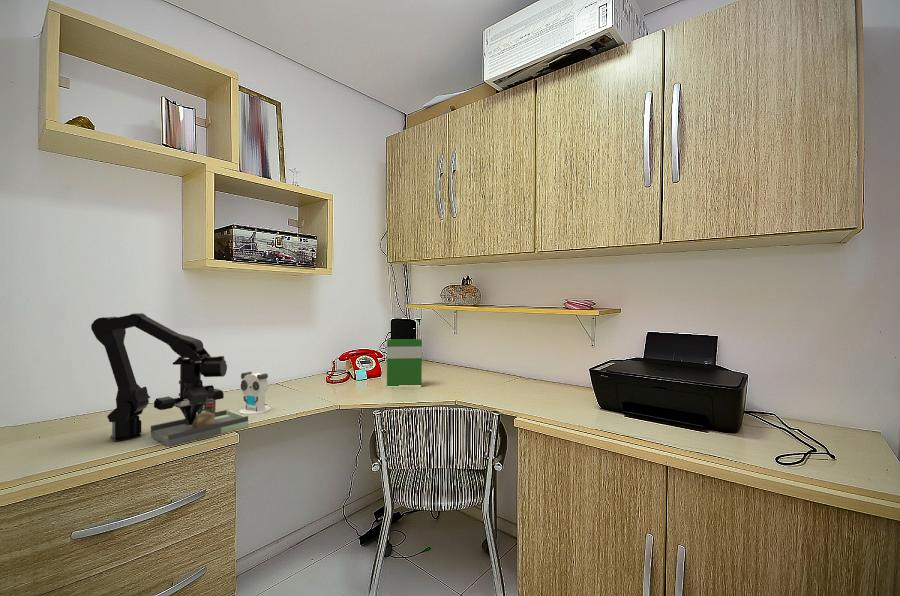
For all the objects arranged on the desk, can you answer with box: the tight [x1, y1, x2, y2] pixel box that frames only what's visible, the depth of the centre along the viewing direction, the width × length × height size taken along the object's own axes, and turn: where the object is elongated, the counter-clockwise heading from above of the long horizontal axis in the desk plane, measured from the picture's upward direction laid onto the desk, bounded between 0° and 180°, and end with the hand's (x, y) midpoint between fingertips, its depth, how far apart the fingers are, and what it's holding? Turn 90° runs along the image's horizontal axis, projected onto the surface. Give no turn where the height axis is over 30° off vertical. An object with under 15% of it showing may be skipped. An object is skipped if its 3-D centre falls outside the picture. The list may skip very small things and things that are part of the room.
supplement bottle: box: [197, 385, 217, 414], centre depth 152 cm, size 6×6×11 cm
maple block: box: [192, 412, 215, 428], centre depth 134 cm, size 5×5×4 cm
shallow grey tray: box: [150, 409, 249, 448], centre depth 134 cm, size 24×15×4 cm, turn 144°
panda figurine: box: [238, 371, 271, 415], centre depth 160 cm, size 12×11×15 cm
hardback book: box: [386, 338, 423, 387], centre depth 206 cm, size 18×7×24 cm, turn 98°
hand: (190, 424), depth 131 cm, fingers closed
